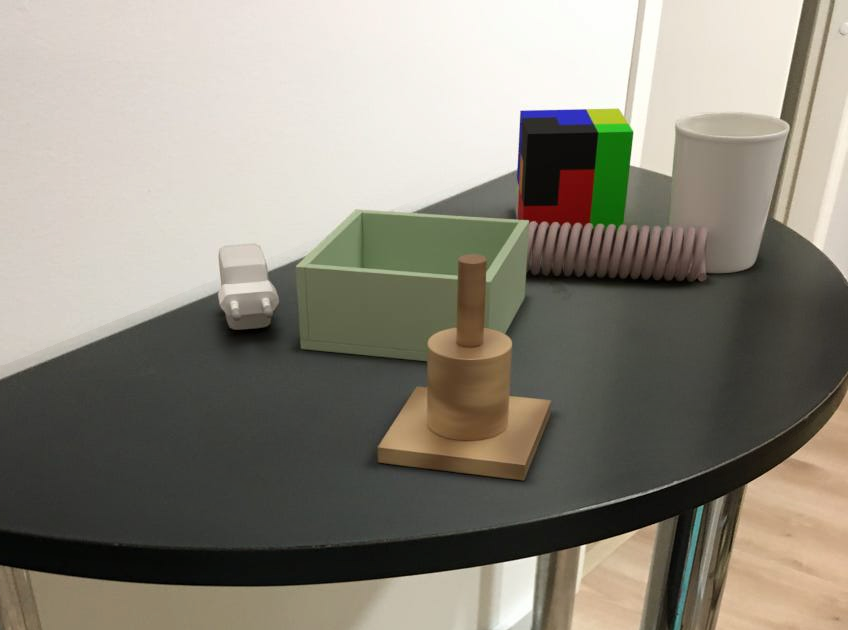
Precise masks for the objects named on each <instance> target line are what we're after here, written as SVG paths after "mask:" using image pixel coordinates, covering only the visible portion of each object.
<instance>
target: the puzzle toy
mask: <svg viewBox="0 0 848 630" xmlns="http://www.w3.org/2000/svg"><path fill="white" fill-rule="evenodd" d="M518 128H519V129H518V130H519V131H518V150H517V151H518V152H517V166H516V167H517V168H516V169H517V170H516V190H515V207H514V212H515V217H516V220H529V223H530V222H532V221H535V222H536V223H537V224H538V226H539V225H540V224H541V223H542V222H547V223H548V224H549V227H550V226H551V225H552V223H554V222H558V223H559V224H560V227H562V225H563V224H564V223H566V222H567V223H570V224H571V227H572V228H573V226H574V224H576V223H580V224H581V225H582V227H583V229H584V227H585V225H586V224H588V223H591V224H592V225H593V227H594V230H595V227H596V226H597V225H598V224H603V225H604V227H605V232H606V229H607V227H608V225H610V224H614V225H615V227H616V235H617V230H618V228H619V226H620V225H622V224H623V225H625V224H624V222H625V216H626V215H625V214H626V205H627V197H628V195H627V194H628V187H629V179H630V178H629V177H630V167H631V159H632V150H633V149H632V148H633V141H634V140H633V139H634V130H633V129H632V127H631V125H630V123H629V122H628V121H627V119H626V118H625V116H624V114H623V113H622V112H621V109H620V108H583V109H582V108H580V109H579V108H578V109H577V108H575V109H538V110H537V109H532V110H531V109H529V110H519V127H518Z"/></svg>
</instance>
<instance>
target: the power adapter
mask: <svg viewBox="0 0 848 630" xmlns="http://www.w3.org/2000/svg"><path fill="white" fill-rule="evenodd" d="M218 267H219V278H220V286H221V287H220V289H219V290H218V292H217V298H218V302H219V307H220V309H221V310H222V311H223V312H224V315H225V319H226V323H227V325H228V329H231V330H238V331H239V330H251V329H261V328H267V327H268V326H270V325H271V323H272V317H273V316H274V312H275V310H276V308H277V307H278V305H279V303H280V297H279V295H278V294H279V293H278V291H277V289H276V287H275V286H274V284H272V282H271V281H270V279H269V271H268V264H267V261H266V258H265V254H264V251H263V249H262V246H261V245H260V244H258V243H240V244H229V245H224V246H221V247H220V248H219V249H218Z"/></svg>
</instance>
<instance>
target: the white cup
mask: <svg viewBox="0 0 848 630" xmlns="http://www.w3.org/2000/svg"><path fill="white" fill-rule="evenodd" d="M790 130H791V127H790V124H789V123H788V122H787V121H786V120H784V119H781V118H778V117H775V116H771V115H767V114H762V113H755V112H754V113H753V112H743V111H709V112H708V111H707V112H699V113H693V114H688V115H685V116H681V117H680V118H678V119H677V120H676V121H675V124H674V144H673V157H672V170H671V183H670V196H669V210H668V220H667V221H668V222H667V226H671V227H672V229H673V241H674V235H675V231H676V229H677V227H679V226H680V227H683V228H684V230H685V231H684V245H685V239H686V234H687V230H688V228H690V227H694V228H695V229H696V238H695V249H696V244H697V238H698V233H699V230H700V228H702V227H705V228H707V230H708V233H707V244H706V263H705V269H706V274H731V273H737V272H742V271H745V270H748V269H750V268H752V267H753V266H754V265H755V263H756V261H757V259H758V255H759V252H760V248H761V245H762V240H763V237H764V232H765V229H766V228H765V227H766V223H767V219H768V215H769V211H770V208H771V204H772V199H773V196H774V191H775V187H776V183H777V179H778V174H779V171H780V167H781V163H782V158H783V155H784V150H785V146H786V143H787V138H788V135H789V133H790ZM672 246H673V242H672ZM683 250H684V247H683ZM694 254H695V253H694Z"/></svg>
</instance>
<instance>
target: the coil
mask: <svg viewBox="0 0 848 630" xmlns="http://www.w3.org/2000/svg"><path fill="white" fill-rule="evenodd" d="M662 230H663V233H662ZM684 231H685V230H684V228H683V227H680V226H679V227H677V229H676V231H675V235H674V241H673V229H672V227H671V226H668V225H667V226H665V228H664V229H662V227H661V226H660V225H655V226H653V228H652V230H651V227H650V226H649V225H647V224H645V225H642V226H641V228H640V229H639V226H638V225H637V224H632V225H630V227H629V229H628V226H627V225H626V224H622V225H620V226H619V228H618V230H617V235H616V227H615V225H614V224H610V225H608V227H607V229H606V232H605V227H604V225H603V224H598V225H597V226H596V227H595V230H594V227H593V225H592V224H591V223H588V224H586V225H585V227H584V229H583V227H582V225H581V224H580V223H576V224H574V226H573V228H572V227H571V224H570V223H567V222H566V223H564V224H563V225H562V227H560V224H559V223H558V222H554V223H552V225H551V226H550V227H549V224H548V223H547V222H542V223H541V224H540V225H539V226H538V224H537V223H536V222H535V221H532V222H530V223H529V233H528V250H527V266H526V275H527V273H529V270H530V272H531V274H532V275H533V276H536V275H538V274H539V273H540V269H541V273H542V274H543V276H549V275H550V273H551V269H552V274H553V276H556V277H558V276H560V275H561V274H562V270H563V275H564V276H565V277H571V276H572V274H573V271H574V275H575V277H578V278H580V277H582V276H583V275H584V273H585V276H587V278H593V277H594V275H595V273H596V276H597V277H598V278H599V279H602V278H604V277H605V276H606V275H607V277H608V278H610V279H614V278H616V277H617V276H618V277H619V278H621V279H623V280H624V279H627V277H628V276H629V277H630V278H631V279H632V280H637V279H639V277H640V276H641V278H642V280H645V281H646V280H649V279H650V278H651V277H652V279H653V280H654V281H660V280H661V279H662V278H663V279H664V280H665V281H667V282H669V281H672V280H673V279H675V280H676V281H677V282H682V281H683V280H685V279H686V280H687V281H688V282H690V283H692V282H694V281H696V279H697V280H698V281H699V282H704V281H706V280H707V273H706V269H705V263H706V244H707V233H708V230H707V228H705V227H702V228H700V230H699V233H698V238H697V244H696V249H695V238H696V229H695V228H694V227H690V228H688V230H687V234H686V239H685V245H684ZM672 242H673V246H672ZM683 247H684V250H683ZM694 253H695V254H694Z"/></svg>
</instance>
